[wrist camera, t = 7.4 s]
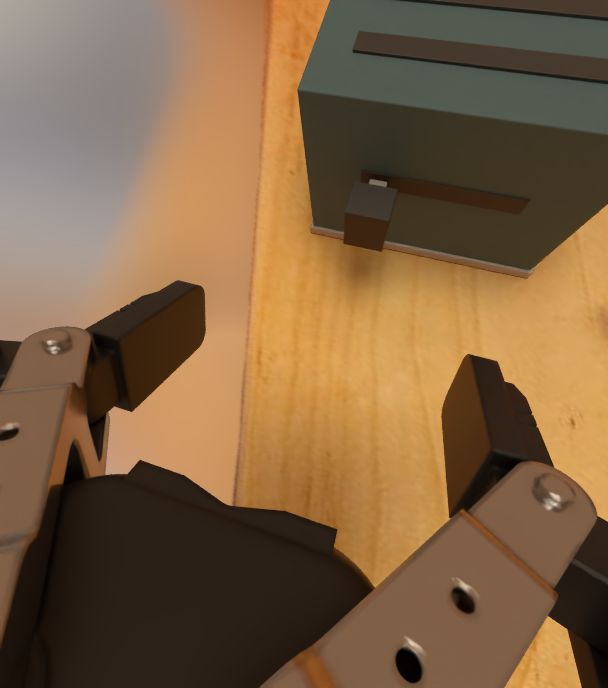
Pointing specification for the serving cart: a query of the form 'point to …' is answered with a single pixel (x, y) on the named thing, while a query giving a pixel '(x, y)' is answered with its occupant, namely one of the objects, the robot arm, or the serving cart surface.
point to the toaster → (461, 123)
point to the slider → (368, 214)
